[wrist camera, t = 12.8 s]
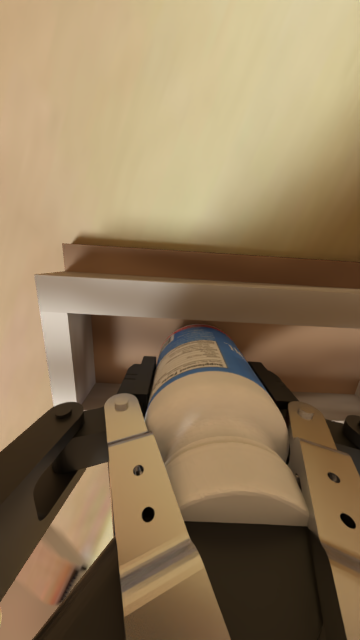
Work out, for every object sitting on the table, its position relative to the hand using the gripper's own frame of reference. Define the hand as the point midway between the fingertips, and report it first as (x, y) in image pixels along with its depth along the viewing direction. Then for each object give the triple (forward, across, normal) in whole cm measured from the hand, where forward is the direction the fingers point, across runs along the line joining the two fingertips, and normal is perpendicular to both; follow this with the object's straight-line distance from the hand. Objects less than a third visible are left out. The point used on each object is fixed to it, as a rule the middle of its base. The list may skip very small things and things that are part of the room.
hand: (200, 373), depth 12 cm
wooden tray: (+4, -3, 0) cm, 5 cm away
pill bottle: (+2, 0, 0) cm, 2 cm away
